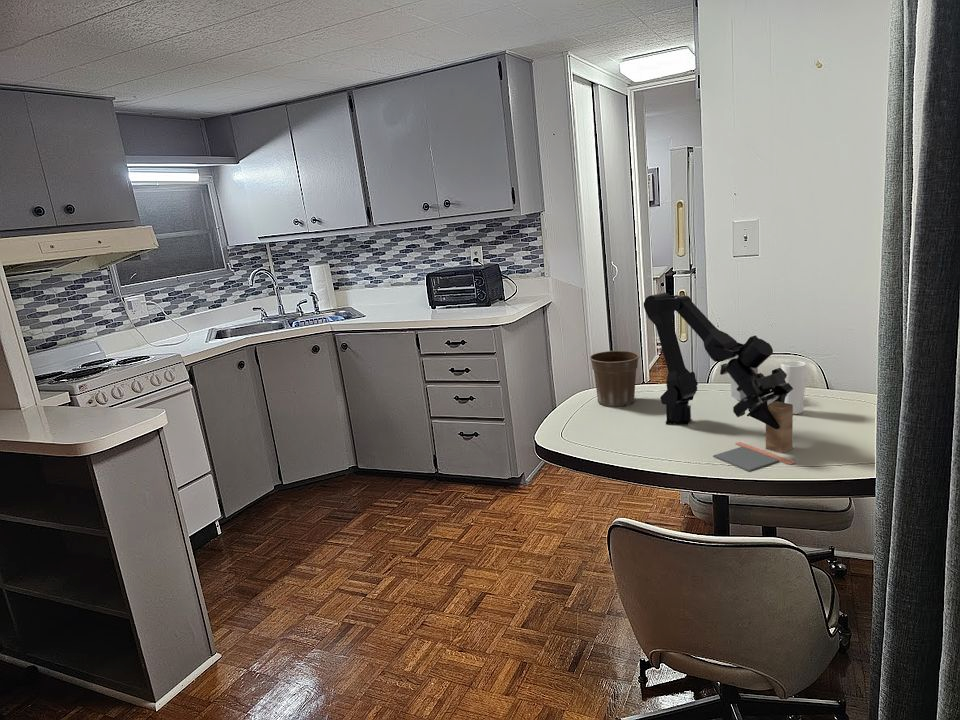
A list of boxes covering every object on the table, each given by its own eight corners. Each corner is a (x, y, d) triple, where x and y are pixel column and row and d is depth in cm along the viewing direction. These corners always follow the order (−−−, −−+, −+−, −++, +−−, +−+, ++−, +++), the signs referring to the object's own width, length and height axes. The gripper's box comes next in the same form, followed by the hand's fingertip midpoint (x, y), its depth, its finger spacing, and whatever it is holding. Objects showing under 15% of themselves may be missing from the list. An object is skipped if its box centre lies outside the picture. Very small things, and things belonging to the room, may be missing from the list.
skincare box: (760, 400, 213) (760, 352, 209) (737, 402, 213) (737, 354, 209) (750, 393, 221) (749, 346, 217) (728, 395, 221) (727, 349, 217)
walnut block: (765, 448, 175) (765, 405, 172) (776, 444, 177) (776, 401, 175) (781, 453, 171) (782, 408, 168) (792, 448, 174) (792, 404, 171)
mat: (713, 456, 173) (713, 455, 173) (742, 447, 177) (742, 446, 177) (748, 471, 163) (748, 470, 162) (778, 461, 166) (778, 460, 166)
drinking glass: (805, 408, 201) (806, 360, 198) (805, 416, 195) (806, 366, 192) (781, 408, 204) (781, 360, 201) (780, 415, 198) (780, 366, 195)
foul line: (735, 444, 180) (735, 443, 180) (739, 442, 181) (739, 441, 181) (790, 464, 164) (790, 463, 164) (795, 463, 165) (795, 462, 164)
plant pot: (641, 394, 232) (639, 349, 228) (641, 408, 217) (639, 360, 213) (594, 395, 236) (591, 351, 232) (591, 410, 221) (588, 362, 217)
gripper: (742, 367, 167) (783, 418, 161) (786, 352, 177) (826, 400, 170) (716, 392, 176) (754, 441, 169) (759, 376, 185) (797, 422, 179)
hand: (783, 425), depth 172 cm, fingers closed on walnut block, 5 cm apart
